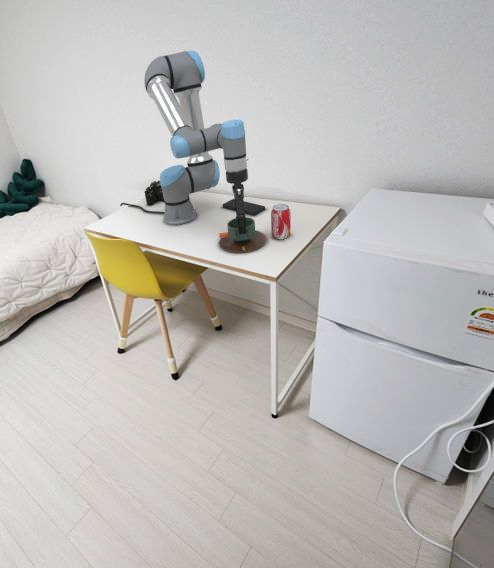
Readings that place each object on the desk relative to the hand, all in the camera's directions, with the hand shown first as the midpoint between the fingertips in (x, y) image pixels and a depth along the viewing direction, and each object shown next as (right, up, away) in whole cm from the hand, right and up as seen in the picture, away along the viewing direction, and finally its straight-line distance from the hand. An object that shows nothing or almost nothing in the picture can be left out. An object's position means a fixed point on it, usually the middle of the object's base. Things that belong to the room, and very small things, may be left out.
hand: (241, 225), depth 132 cm
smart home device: (+6, +13, +31) cm, 34 cm away
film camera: (-34, +24, +59) cm, 72 cm away
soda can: (+16, -4, +3) cm, 16 cm away
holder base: (+1, -6, +4) cm, 7 cm away
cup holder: (-1, -3, +2) cm, 4 cm away
